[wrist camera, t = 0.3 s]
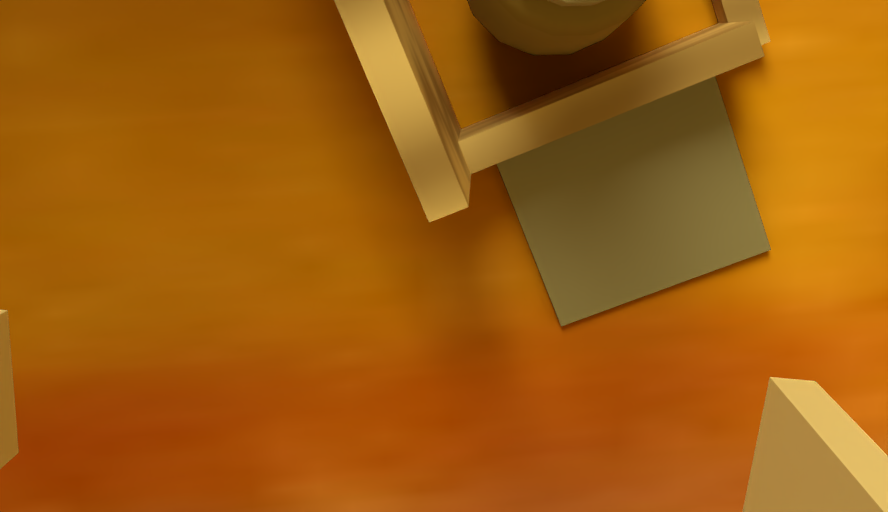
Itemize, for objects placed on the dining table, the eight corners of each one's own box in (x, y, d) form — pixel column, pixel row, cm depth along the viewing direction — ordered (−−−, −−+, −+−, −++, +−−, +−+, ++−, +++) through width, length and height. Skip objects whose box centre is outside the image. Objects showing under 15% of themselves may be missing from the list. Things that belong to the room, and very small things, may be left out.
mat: (493, 154, 39) (493, 155, 39) (709, 67, 38) (712, 67, 37) (560, 323, 41) (561, 326, 41) (767, 247, 40) (770, 249, 39)
